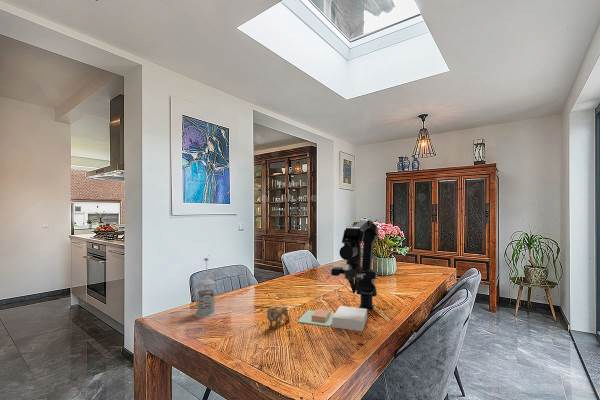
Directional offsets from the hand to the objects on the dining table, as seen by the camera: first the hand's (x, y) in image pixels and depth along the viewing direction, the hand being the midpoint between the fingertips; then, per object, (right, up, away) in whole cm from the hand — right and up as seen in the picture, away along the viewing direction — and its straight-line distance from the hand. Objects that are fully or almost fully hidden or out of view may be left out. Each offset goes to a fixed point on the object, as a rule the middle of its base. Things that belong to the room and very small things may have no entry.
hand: (354, 292), depth 129 cm
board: (-2, -12, -2) cm, 12 cm away
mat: (-15, -12, +2) cm, 19 cm away
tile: (-14, -9, +2) cm, 17 cm away
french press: (-66, -12, +7) cm, 68 cm away
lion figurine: (-32, -12, -6) cm, 34 cm away
